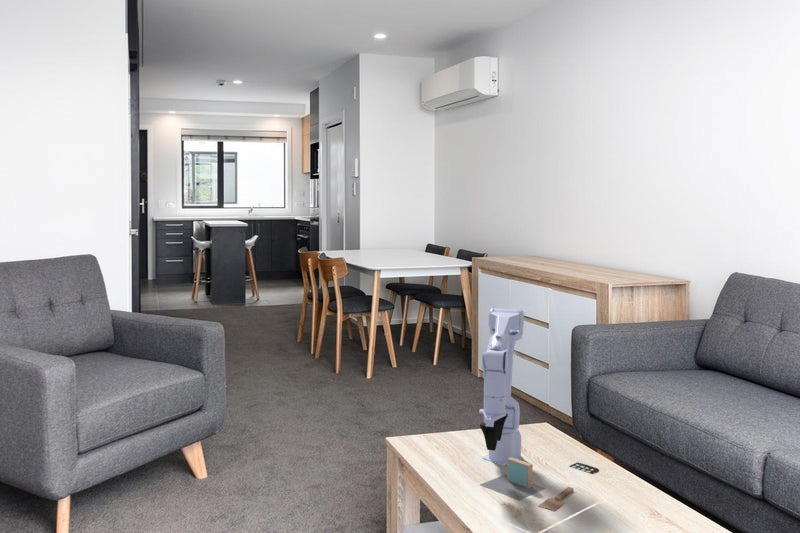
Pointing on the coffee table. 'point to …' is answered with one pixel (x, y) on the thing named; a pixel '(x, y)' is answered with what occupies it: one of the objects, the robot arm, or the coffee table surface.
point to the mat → (511, 488)
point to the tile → (519, 472)
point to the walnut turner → (556, 500)
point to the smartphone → (584, 468)
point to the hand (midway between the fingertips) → (493, 444)
